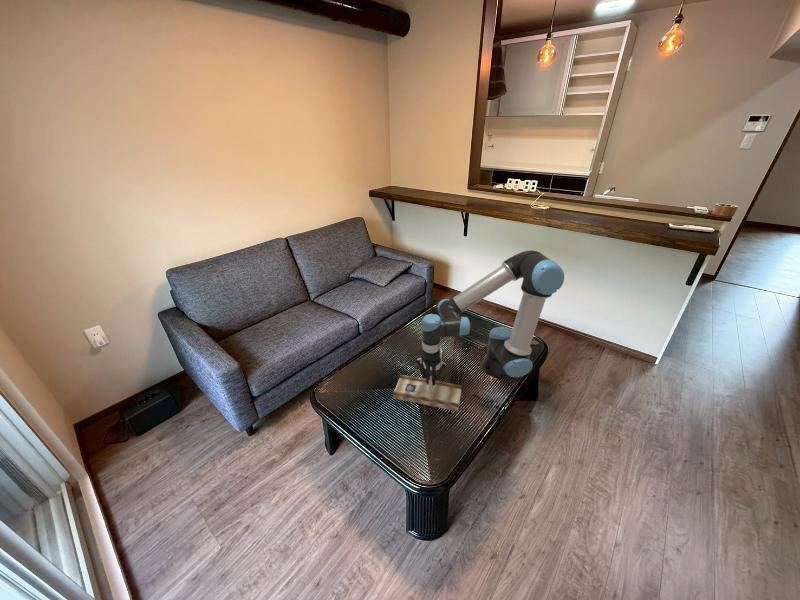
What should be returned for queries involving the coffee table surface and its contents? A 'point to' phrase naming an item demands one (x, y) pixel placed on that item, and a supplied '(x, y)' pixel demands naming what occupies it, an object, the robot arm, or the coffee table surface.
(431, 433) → the coffee table surface
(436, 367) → the mug
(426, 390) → the tray
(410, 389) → the ball
